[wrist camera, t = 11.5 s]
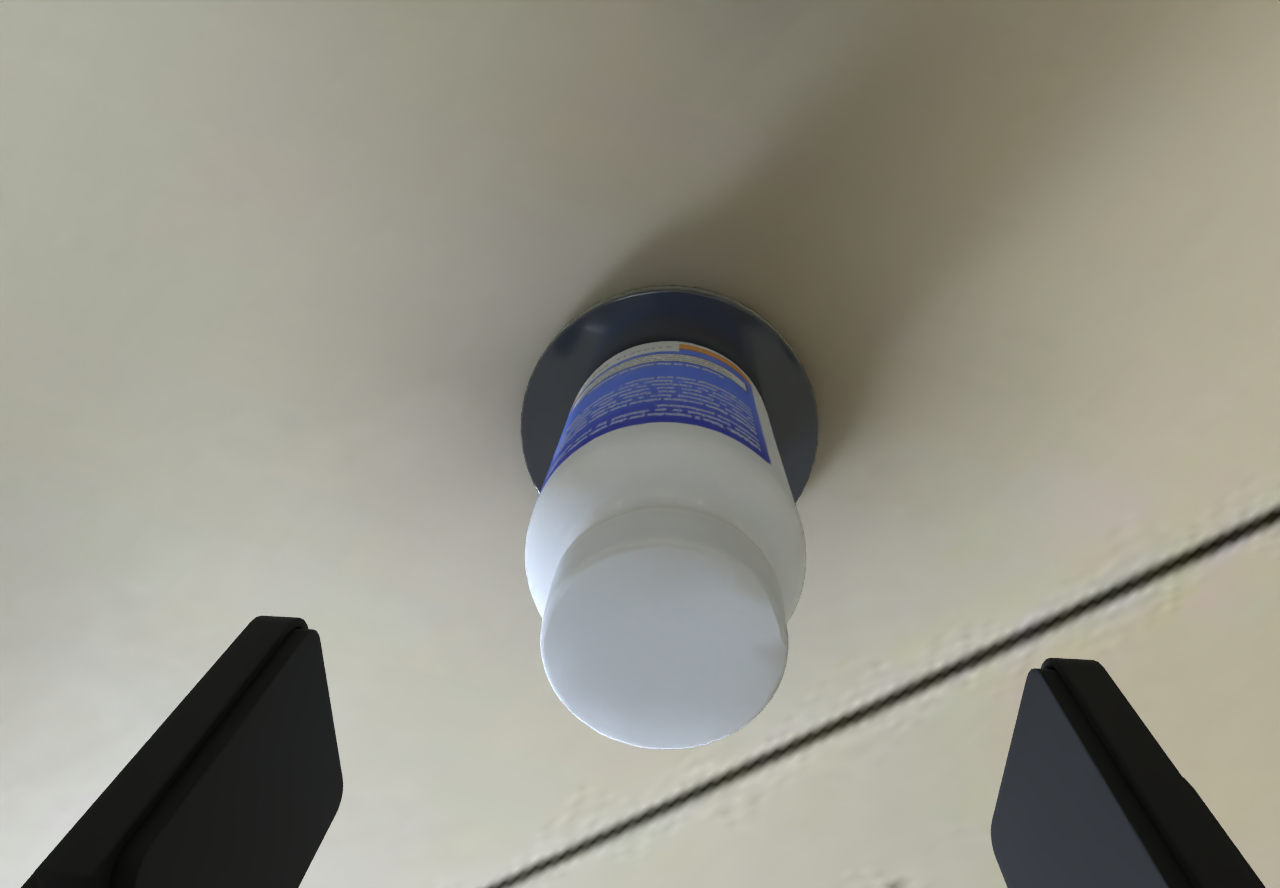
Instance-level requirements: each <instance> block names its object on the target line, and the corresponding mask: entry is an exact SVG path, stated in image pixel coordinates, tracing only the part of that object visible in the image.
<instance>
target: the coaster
mask: <svg viewBox="0 0 1280 888" xmlns="http://www.w3.org/2000/svg"><path fill="white" fill-rule="evenodd" d="M660 341H679V342H687V343H692V344H696V345H699V346H702V347H706V348H708V349H711V350H713V351H715V352H717V353H719V354H721V355H723V356H724V357H726V358H727V359H729V360H731V361H732V362H733V363H734V364H736V365H737V366H738V367H739V368H740V369H741V370H742V371H743V372H744V373H745V374H746V375H747V376H748V377H749V379H750V380H751V381H752V383H753V384H754V386H755V387H756V389H757V391H758V393H759V394H760V396H761V398H762V401H763V403H764V406H765V408H766V411H767V414H768V417H769V420H770V423H771V427H772V430H773V434H774V438H775V441H776V444H777V448H778V451H779V454H780V457H781V461H782V464H783V467H784V470H785V473H786V476H787V480H788V483H789V486H790V489H791V492H792V495H793V499H794V502H795V503H796V501H797V500H798V498H799V497H800V495H801V494H802V491H803V489H804V487H805V485H806V483H807V481H808V479H809V476H810V473H811V470H812V467H813V464H814V461H815V455H816V450H817V444H818V417H817V408H816V403H815V399H814V395H813V391H812V387H811V385H810V383H809V380H808V378H807V375H806V373H805V371H804V368H803V366H802V364H801V363H800V361H799V359H798V357H797V356H796V354H795V352H794V351H793V349H792V348H791V346H790V345H789V344H788V343H787V341H786V340H785V339H784V338H783V336H782V335H781V334H780V333H779V332H778V331H777V330H776V329H775V328H774V327H773V326H772V325H771V324H770V323H769V322H768V321H767V320H765V319H764V318H763V317H761V316H760V315H758V314H757V313H756V312H754V311H753V310H751V309H750V308H748V307H746V306H744V305H743V304H741V303H739V302H737V301H735V300H733V299H731V298H728V297H726V296H723V295H720V294H717V293H715V292H711V291H707V290H703V289H698V288H694V287H684V286H651V287H645V288H640V289H634V290H630V291H627V292H624V293H620V294H617V295H614V296H612V297H610V298H607V299H605V300H603V301H601V302H599V303H597V304H595V305H593V306H592V307H590V308H588V309H587V310H585V311H584V312H582V313H581V314H579V315H578V316H577V317H576V318H574V319H573V320H572V321H571V322H570V323H568V324H567V325H566V326H565V327H564V328H563V329H562V330H561V331H560V332H559V334H558V335H557V336H556V337H555V338H554V339H553V340H552V341H551V343H550V344H549V346H548V347H547V349H546V350H545V352H544V353H543V355H542V356H541V358H540V359H539V361H538V363H537V365H536V367H535V369H534V371H533V373H532V375H531V377H530V380H529V383H528V386H527V390H526V393H525V396H524V401H523V407H522V413H521V439H522V448H523V453H524V457H525V461H526V465H527V468H528V471H529V473H530V476H531V478H532V481H533V484H534V485H535V487H536V489H537V491H538V493H539V494H540V491H541V489H542V486H543V483H544V481H545V478H546V476H547V473H548V470H549V468H550V465H551V463H552V460H553V457H554V454H555V451H556V448H557V446H558V443H559V440H560V438H561V435H562V432H563V430H564V427H565V424H566V422H567V419H568V416H569V413H570V410H571V408H572V405H573V403H574V401H575V399H576V397H577V395H578V393H579V391H580V390H581V388H582V386H583V385H584V383H585V382H586V381H587V379H588V378H589V377H590V376H591V375H592V374H593V373H594V371H595V370H596V369H598V368H599V367H600V366H601V365H602V364H603V363H604V362H606V361H607V360H609V359H610V358H612V357H613V356H615V355H617V354H618V353H620V352H622V351H625V350H627V349H629V348H632V347H635V346H638V345H642V344H647V343H652V342H660Z"/></svg>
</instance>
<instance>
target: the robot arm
mask: <svg viewBox="0 0 1280 888" xmlns="http://www.w3.org/2000/svg"><path fill="white" fill-rule="evenodd" d="M342 793H343V778H342V772H341V766H340V760H339V753H338V747H337V741H336V735H335V729H334V722H333V716H332V710H331V704H330V698H329V692H328V685H327V679H326V673H325V667H324V661H323V654H322V648H321V642H320V637H319V634H318V633H317V631H316V630H312V629H308V626H307V624H306V622H305V621H304V620H303V619H301V618H293V617H274V616H259V617H256V618H255V619H253V620H252V621H251V622H250V623H249V624H248V626H247V627H246V628H245V629H244V630H243V631H242V633H241V634H240V635H239V636H238V637H237V638H236V639H235V641H234V642H233V643H232V644H231V645H230V646H229V648H228V649H227V650H226V651H225V652H224V653H223V654H222V656H221V657H220V658H219V659H218V660H217V661H216V663H215V664H214V665H213V666H212V667H211V668H210V670H209V671H208V672H207V673H206V674H205V675H204V676H203V678H202V679H201V680H200V681H199V682H198V683H197V685H196V686H195V687H194V688H193V689H192V690H191V691H190V693H189V694H188V695H187V696H186V697H185V698H184V700H183V701H182V702H181V703H180V704H179V705H178V706H177V708H176V709H175V710H174V711H173V712H172V713H171V715H170V716H169V717H168V718H167V719H166V720H165V721H164V723H163V724H162V725H161V726H160V727H159V728H158V730H157V731H156V732H155V733H154V734H153V735H152V736H151V738H150V739H149V740H148V741H147V742H146V743H145V745H144V746H143V747H142V748H141V749H140V750H139V751H138V753H137V754H136V755H135V756H134V757H133V758H132V760H131V761H130V762H129V763H128V764H127V765H126V766H125V768H124V769H123V770H122V771H121V772H120V773H119V775H118V776H117V777H116V778H115V779H114V780H113V781H112V783H111V784H110V785H109V786H108V787H107V788H106V790H105V791H104V792H103V793H102V794H101V795H100V796H99V798H98V799H97V800H96V801H95V802H94V803H93V805H92V806H91V807H90V808H89V809H88V810H87V811H86V813H85V814H84V815H83V816H82V817H81V818H80V820H79V821H78V822H77V823H76V824H75V825H74V826H73V828H72V829H71V830H70V831H69V832H68V833H67V835H66V836H65V837H64V838H63V839H62V840H61V841H60V843H59V844H58V845H57V846H56V847H55V848H54V850H53V851H52V852H51V853H50V854H49V855H48V857H47V858H46V859H45V860H44V861H43V862H42V863H41V865H40V866H39V867H38V868H37V869H36V870H35V872H34V873H33V874H32V875H31V877H30V878H29V879H28V880H27V881H26V882H25V884H24V885H23V886H22V887H21V888H298V887H299V885H300V883H301V881H302V879H303V877H304V875H305V873H306V871H307V869H308V867H309V865H310V864H311V862H312V860H313V858H314V856H315V854H316V852H317V850H318V848H319V846H320V844H321V842H322V840H323V838H324V836H325V834H326V832H327V830H328V828H329V826H330V824H331V822H332V821H333V819H334V817H335V815H336V813H337V810H338V808H339V805H340V802H341V798H342ZM991 839H992V846H993V850H994V853H995V857H996V859H997V862H998V864H999V867H1000V869H1001V872H1002V874H1003V877H1004V879H1005V882H1006V885H1007V887H1008V888H1265V886H1264V885H1263V883H1262V882H1261V881H1260V879H1259V878H1258V877H1257V875H1256V874H1255V872H1254V871H1253V870H1252V868H1251V867H1250V865H1249V864H1248V863H1247V861H1246V860H1245V859H1244V857H1243V856H1242V854H1241V853H1240V852H1239V850H1238V849H1237V847H1236V846H1235V845H1234V843H1233V842H1232V841H1231V839H1230V838H1229V836H1228V835H1227V834H1226V832H1225V831H1224V829H1223V828H1222V827H1221V825H1220V824H1219V823H1218V821H1217V820H1216V818H1215V817H1214V816H1213V814H1212V813H1211V811H1210V810H1209V809H1208V807H1207V806H1206V805H1205V803H1204V802H1203V800H1202V799H1201V798H1200V796H1199V795H1198V794H1197V792H1196V791H1195V789H1194V788H1193V787H1192V786H1191V785H1190V784H1189V783H1188V782H1187V781H1186V779H1185V778H1183V777H1182V776H1181V774H1180V773H1179V772H1178V770H1177V769H1176V767H1175V766H1174V765H1173V763H1172V762H1171V760H1170V759H1169V758H1168V756H1167V755H1166V754H1165V752H1164V751H1163V749H1162V748H1161V747H1160V745H1159V744H1158V742H1157V741H1156V740H1155V738H1154V737H1153V735H1152V734H1151V733H1150V731H1149V730H1148V728H1147V727H1146V726H1145V724H1144V723H1143V721H1142V720H1141V719H1140V717H1139V716H1138V715H1137V713H1136V712H1135V710H1134V709H1133V708H1132V706H1131V705H1130V703H1129V702H1128V701H1127V699H1126V698H1125V696H1124V695H1123V694H1122V692H1121V691H1120V689H1119V688H1118V687H1117V685H1116V684H1115V683H1114V681H1113V680H1112V678H1111V677H1110V676H1109V674H1108V673H1107V671H1106V670H1105V669H1104V667H1103V666H1102V665H1101V664H1100V663H1099V662H1097V661H1094V660H1081V659H1062V658H1049V659H1046V660H1045V661H1044V663H1043V664H1042V667H1041V669H1031V671H1030V672H1029V673H1028V676H1027V679H1026V683H1025V687H1024V691H1023V696H1022V700H1021V704H1020V708H1019V712H1018V716H1017V720H1016V724H1015V728H1014V733H1013V737H1012V741H1011V745H1010V749H1009V753H1008V757H1007V761H1006V766H1005V770H1004V774H1003V778H1002V782H1001V786H1000V790H999V794H998V799H997V803H996V807H995V811H994V815H993V819H992V825H991Z"/></svg>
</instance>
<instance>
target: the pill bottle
mask: <svg viewBox="0 0 1280 888" xmlns="http://www.w3.org/2000/svg"><path fill="white" fill-rule="evenodd" d="M525 564H526V573H527V579H528V584H529V588H530V591H531V595H532V597H533V600H534V602H535V604H536V607H537V609H538V611H539V613H540V615H541V617H542V618H543V620H542V625H541V636H540V647H541V656H542V660H543V665H544V668H545V671H546V675H547V677H548V680H549V682H550V684H551V686H552V688H553V689H554V691H555V693H556V694H557V696H558V697H559V699H560V700H561V701H562V703H563V704H564V705H565V706H566V707H567V708H568V709H569V710H570V712H571V713H573V714H574V715H575V716H576V717H577V718H578V719H579V720H580V721H582V722H583V723H585V724H586V725H588V726H589V727H591V728H592V729H594V730H595V731H597V732H599V733H601V734H602V735H604V736H606V737H608V738H611V739H613V740H616V741H620V742H623V743H626V744H629V745H633V746H636V747H642V748H650V749H683V748H691V747H696V746H701V745H704V744H707V743H711V742H714V741H716V740H719V739H722V738H724V737H726V736H728V735H730V734H732V733H734V732H736V731H738V730H739V729H741V728H742V727H744V726H745V725H746V724H748V723H749V722H750V721H751V720H753V719H754V718H755V717H756V716H757V715H758V714H759V713H760V712H761V711H762V710H763V709H764V707H765V706H766V705H767V704H768V703H769V701H770V700H771V699H772V697H773V695H774V694H775V692H776V690H777V688H778V687H779V684H780V682H781V680H782V677H783V674H784V671H785V668H786V662H787V655H788V632H787V626H786V624H787V622H788V621H789V619H790V618H791V616H792V614H793V613H794V610H795V608H796V606H797V603H798V601H799V598H800V595H801V592H802V588H803V583H804V579H805V571H806V544H805V537H804V532H803V528H802V524H801V521H800V517H799V514H798V511H797V508H796V505H795V502H794V499H793V495H792V492H791V489H790V486H789V483H788V480H787V476H786V473H785V470H784V467H783V464H782V461H781V457H780V454H779V451H778V448H777V444H776V441H775V438H774V434H773V430H772V427H771V423H770V420H769V417H768V414H767V411H766V408H765V406H764V403H763V401H762V398H761V396H760V394H759V393H758V391H757V389H756V387H755V386H754V384H753V383H752V381H751V380H750V379H749V377H748V376H747V375H746V374H745V373H744V372H743V371H742V370H741V369H740V368H739V367H738V366H737V365H736V364H734V363H733V362H732V361H731V360H729V359H727V358H726V357H724V356H723V355H721V354H719V353H717V352H715V351H713V350H711V349H708V348H706V347H702V346H699V345H696V344H692V343H687V342H679V341H660V342H652V343H647V344H642V345H638V346H635V347H632V348H629V349H627V350H625V351H622V352H620V353H618V354H617V355H615V356H613V357H612V358H610V359H609V360H607V361H606V362H604V363H603V364H602V365H601V366H600V367H599V368H598V369H596V370H595V371H594V373H593V374H592V375H591V376H590V377H589V378H588V379H587V381H586V382H585V383H584V385H583V386H582V388H581V390H580V391H579V393H578V395H577V397H576V399H575V401H574V403H573V405H572V408H571V410H570V413H569V416H568V419H567V422H566V424H565V427H564V430H563V432H562V435H561V438H560V440H559V443H558V446H557V448H556V451H555V454H554V457H553V460H552V463H551V465H550V468H549V470H548V473H547V476H546V478H545V481H544V483H543V486H542V489H541V491H540V494H539V496H538V499H537V502H536V504H535V507H534V510H533V513H532V516H531V520H530V523H529V527H528V531H527V537H526V545H525Z"/></svg>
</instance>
